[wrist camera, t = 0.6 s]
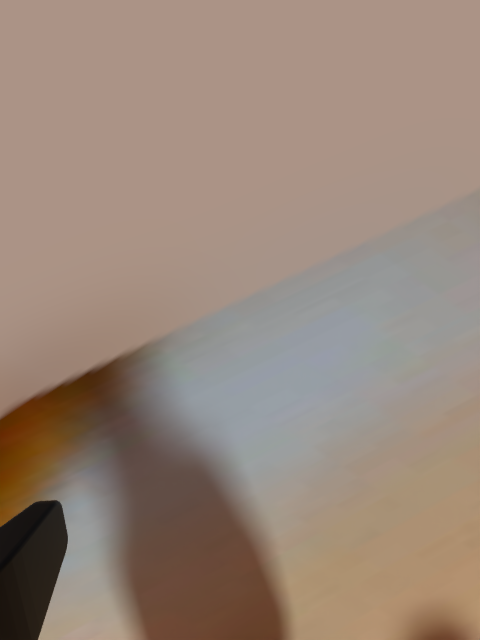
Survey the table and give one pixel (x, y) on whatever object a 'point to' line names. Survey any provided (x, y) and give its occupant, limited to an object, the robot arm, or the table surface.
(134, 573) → the table surface
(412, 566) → the table surface
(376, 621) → the table surface
